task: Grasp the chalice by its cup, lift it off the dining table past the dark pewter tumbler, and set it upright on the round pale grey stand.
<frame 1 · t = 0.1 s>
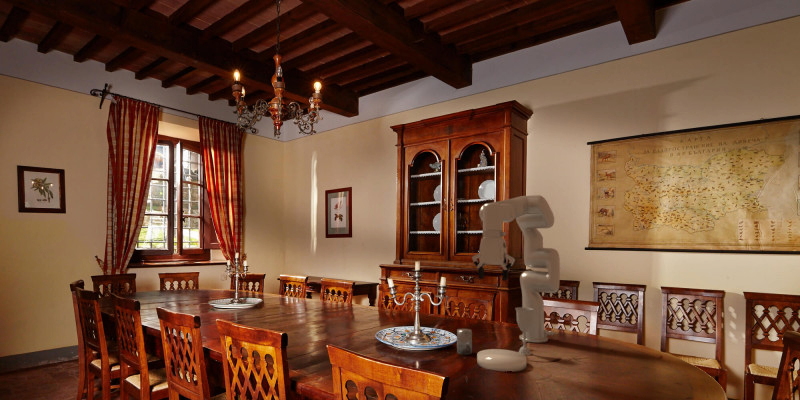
hand: (492, 279, 163), 31 cm above the table, tool pointing down, fingers open, 9 cm apart
stand: (501, 363, 159), on the table
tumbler: (464, 352, 174), on the table
chalice: (524, 353, 174), on the table
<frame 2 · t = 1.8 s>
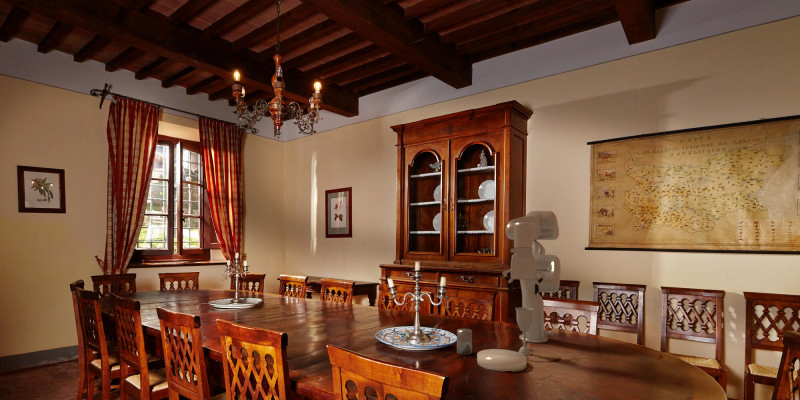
hand: (523, 293, 175), 24 cm above the table, tool pointing down, fingers open, 9 cm apart
nothing on the table moved.
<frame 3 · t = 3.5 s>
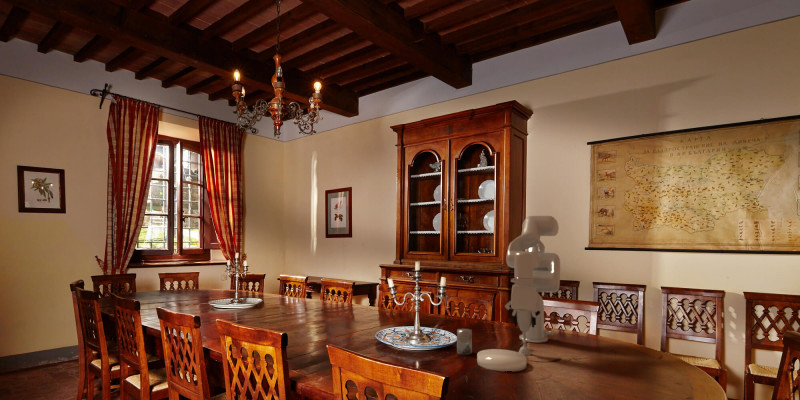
hand: (524, 325, 175), 11 cm above the table, tool pointing down, fingers closed on chalice, 6 cm apart
chalice: (524, 353, 174), on the table, touching gripper
everything else where it was.
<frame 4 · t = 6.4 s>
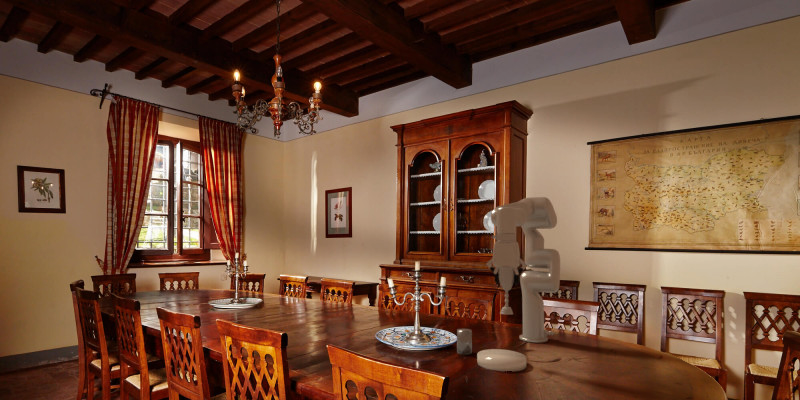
hand: (506, 284, 165), 29 cm above the table, tool pointing down, fingers closed on chalice, 6 cm apart
chalice: (506, 313, 164), point 18 cm above the table, touching gripper
everything else where it was.
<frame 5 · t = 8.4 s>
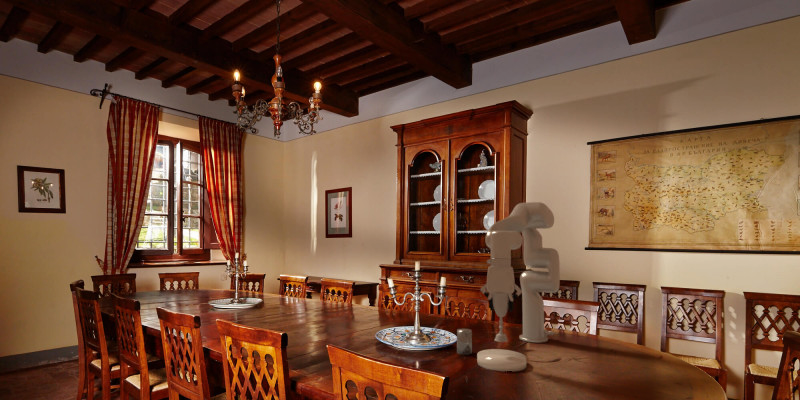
hand: (501, 310, 161), 20 cm above the table, tool pointing down, fingers closed on chalice, 6 cm apart
chalice: (501, 340, 160), point 8 cm above the table, touching gripper
everything else where it was.
when the fingers open (15 cm above the table, at t = 9.7 s): chalice drops 1 cm, resting on stand.
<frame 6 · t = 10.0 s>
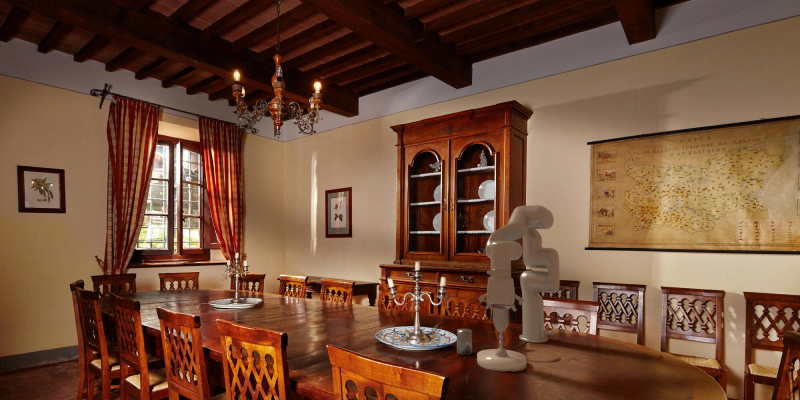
hand: (501, 320, 161), 16 cm above the table, tool pointing down, fingers open, 8 cm apart
chalice: (501, 356, 160), point 3 cm above the table, touching stand
everything else where it was.
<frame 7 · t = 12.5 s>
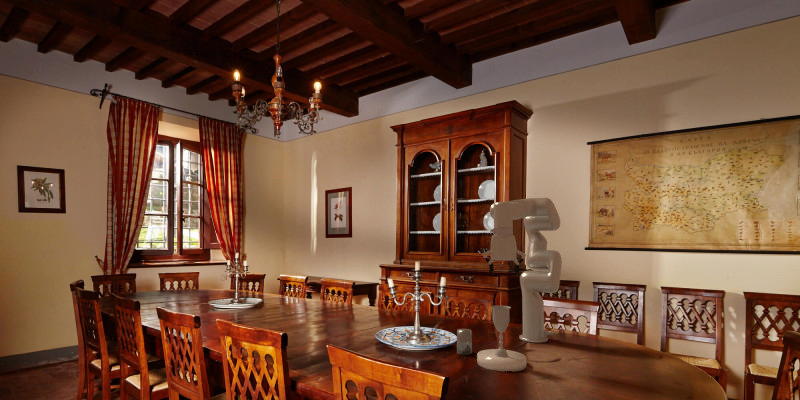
hand: (504, 274, 172), 32 cm above the table, tool pointing down, fingers open, 9 cm apart
nothing on the table moved.
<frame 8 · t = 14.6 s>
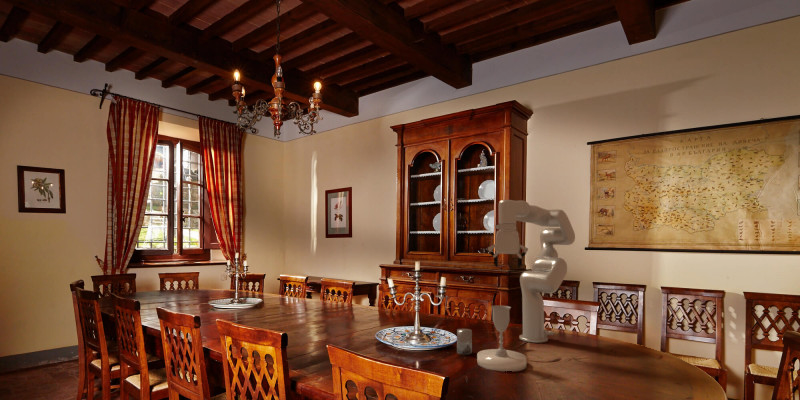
hand: (507, 267, 186), 34 cm above the table, tool pointing down, fingers open, 9 cm apart
nothing on the table moved.
at the end: chalice inside the target area on the stand (0.2 cm from its centre), point 2.8 cm above the stand's base; chalice tilted 0°; the gripper is holding nothing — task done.
